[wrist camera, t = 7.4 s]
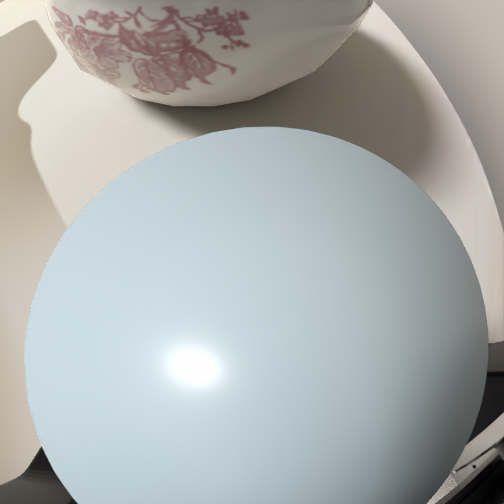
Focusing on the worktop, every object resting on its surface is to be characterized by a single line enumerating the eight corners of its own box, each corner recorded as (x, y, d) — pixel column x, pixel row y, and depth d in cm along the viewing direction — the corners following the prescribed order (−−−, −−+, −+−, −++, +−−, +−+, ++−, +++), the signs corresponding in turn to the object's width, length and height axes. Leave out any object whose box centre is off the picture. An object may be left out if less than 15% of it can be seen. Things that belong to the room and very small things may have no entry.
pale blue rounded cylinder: (296, 349, 16) (516, 373, 3) (210, 413, 14) (253, 612, 1) (233, 262, 16) (333, 78, 4) (142, 324, 14) (-41, 303, 2)
